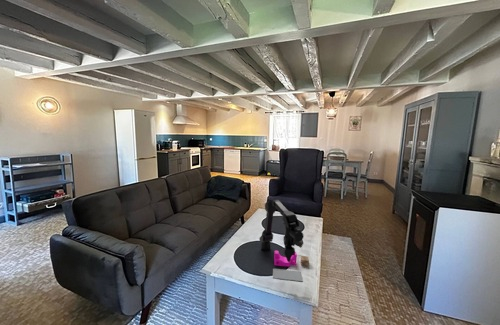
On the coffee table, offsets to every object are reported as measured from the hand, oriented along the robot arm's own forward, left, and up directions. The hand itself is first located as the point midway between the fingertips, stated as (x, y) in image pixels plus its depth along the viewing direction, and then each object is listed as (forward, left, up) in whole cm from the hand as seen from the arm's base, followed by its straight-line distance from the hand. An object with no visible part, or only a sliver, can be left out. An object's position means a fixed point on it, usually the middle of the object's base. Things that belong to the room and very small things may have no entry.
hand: (288, 257), depth 128 cm
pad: (0, 0, -12) cm, 12 cm away
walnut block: (+12, +14, -12) cm, 22 cm away
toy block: (-1, +12, -12) cm, 17 cm away
